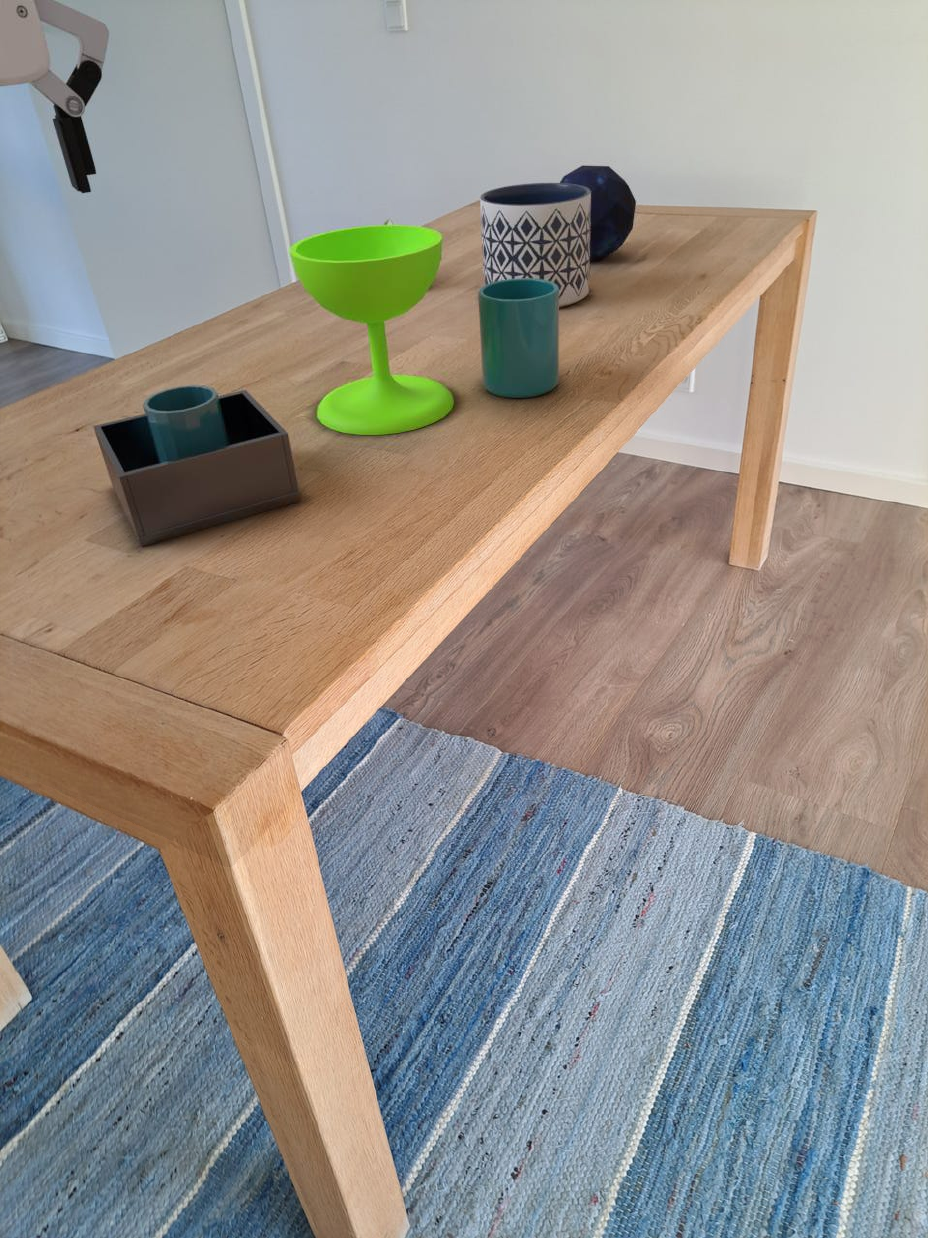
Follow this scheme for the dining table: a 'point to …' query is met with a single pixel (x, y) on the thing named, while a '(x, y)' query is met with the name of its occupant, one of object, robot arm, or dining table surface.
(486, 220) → the planter
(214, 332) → the dining table surface
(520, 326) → the cup
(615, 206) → the decorative orb
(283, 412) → the dining table surface
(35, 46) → the robot arm
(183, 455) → the tumbler
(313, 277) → the wineglass
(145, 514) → the grey open box
